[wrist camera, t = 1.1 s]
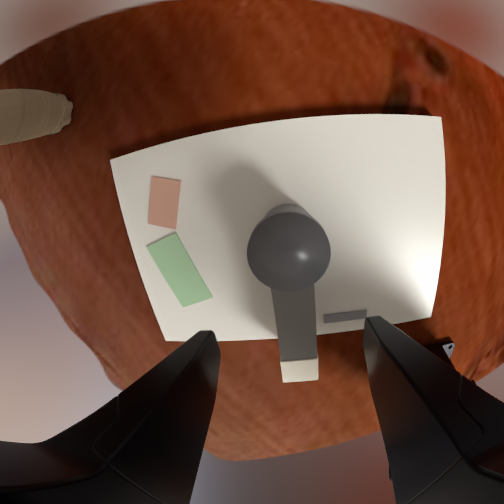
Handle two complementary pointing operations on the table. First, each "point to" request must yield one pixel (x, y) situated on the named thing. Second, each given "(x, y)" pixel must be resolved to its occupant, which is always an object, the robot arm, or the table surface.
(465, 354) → the table surface
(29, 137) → the handle
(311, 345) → the grey round-headed bar
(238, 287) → the board
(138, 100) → the table surface
